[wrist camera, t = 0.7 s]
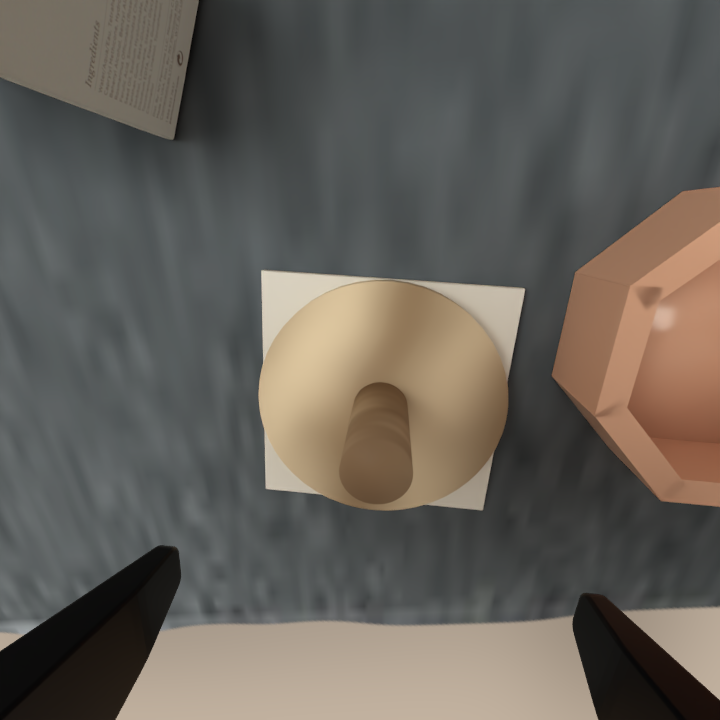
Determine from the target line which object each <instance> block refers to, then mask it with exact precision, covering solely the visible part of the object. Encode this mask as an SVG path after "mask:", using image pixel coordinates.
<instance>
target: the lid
mask: <svg viewBox="0 0 720 720" xmlns="http://www.w3.org/2000/svg"><path fill="white" fill-rule="evenodd" d="M259 406H260V414H261V418H262V422H263V426H264V429H265V431H266V434H267V436H268V439H269V441H270V443H271V445H272V446H273V448H274V450H275V452H276V453H277V455H278V456H279V457H280V459H281V460H282V462H283V463H284V464H285V465H286V466H287V467H288V469H289V470H290V471H291V472H292V473H293V474H294V475H295V476H296V477H298V478H299V479H300V480H301V481H302V482H303V483H305V484H306V485H308V486H309V487H311V488H312V489H313V490H315V491H316V492H318V493H320V494H322V495H324V496H326V497H328V498H330V499H332V500H335V501H338V502H340V503H343V504H346V505H350V506H354V507H357V508H364V509H370V510H386V511H387V510H402V509H408V508H414V507H418V506H422V505H425V504H428V503H431V502H434V501H436V500H439V499H441V498H443V497H445V496H447V495H449V494H451V493H452V492H454V491H456V490H458V489H459V488H460V487H462V486H463V485H464V484H466V483H467V482H468V481H470V480H471V479H472V478H473V477H474V476H475V475H476V474H477V473H478V472H479V471H480V470H481V469H482V467H483V466H484V465H485V464H486V462H487V461H488V460H489V458H490V457H491V455H492V454H493V452H494V450H495V449H496V447H497V445H498V442H499V440H500V438H501V436H502V433H503V430H504V426H505V422H506V419H507V411H508V385H507V379H506V374H505V370H504V367H503V364H502V361H501V358H500V356H499V354H498V352H497V350H496V348H495V346H494V344H493V342H492V341H491V339H490V338H489V336H488V335H487V334H486V332H485V331H484V329H483V328H482V327H481V326H480V325H479V324H478V323H477V322H476V320H475V319H474V318H473V317H472V316H471V315H470V314H469V313H468V312H467V311H466V310H464V309H463V308H462V307H461V306H459V305H458V304H457V303H456V302H454V301H452V300H451V299H449V298H447V297H446V296H444V295H442V294H441V293H438V292H436V291H434V290H431V289H429V288H427V287H424V286H420V285H417V284H413V283H409V282H403V281H396V280H368V281H360V282H355V283H351V284H347V285H343V286H340V287H338V288H335V289H333V290H330V291H328V292H326V293H324V294H322V295H320V296H319V297H317V298H315V299H314V300H312V301H310V302H309V303H308V304H307V305H305V306H304V307H303V308H302V309H300V310H299V311H298V312H297V313H296V314H295V315H294V316H293V317H292V318H291V319H290V320H289V321H288V322H287V323H286V324H285V325H284V326H283V327H282V329H281V330H280V332H279V333H278V334H277V336H276V337H275V339H274V340H273V342H272V344H271V346H270V348H269V350H268V352H267V354H266V357H265V360H264V363H263V366H262V370H261V376H260V381H259Z"/></svg>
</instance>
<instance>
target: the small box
mask: <svg viewBox="0 0 720 720" xmlns="http://www.w3.org/2000/svg"><path fill="white" fill-rule="evenodd" d="M198 3H199V0H0V77H1V78H3V79H6V80H8V81H11V82H14V83H16V84H19V85H22V86H24V87H27V88H30V89H32V90H35V91H38V92H40V93H43V94H46V95H48V96H51V97H53V98H56V99H59V100H61V101H64V102H67V103H70V104H72V105H75V106H78V107H80V108H83V109H86V110H88V111H91V112H94V113H97V114H99V115H102V116H105V117H107V118H110V119H113V120H116V121H118V122H121V123H124V124H127V125H129V126H132V127H135V128H137V129H140V130H143V131H146V132H149V133H151V134H154V135H157V136H160V137H163V138H166V139H169V140H173V139H174V136H175V130H176V125H177V119H178V114H179V108H180V103H181V97H182V92H183V86H184V81H185V75H186V69H187V63H188V58H189V52H190V46H191V41H192V35H193V30H194V25H195V19H196V14H197V9H198Z"/></svg>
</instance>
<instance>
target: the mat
mask: <svg viewBox="0 0 720 720" xmlns="http://www.w3.org/2000/svg"><path fill="white" fill-rule="evenodd" d="M261 272H262V322H263V363H264V360H265V357H266V354H267V352H268V350H269V348H270V346H271V344H272V342H273V340H274V339H275V337H276V336H277V334H278V333H279V332H280V330H281V329H282V327H283V326H284V325H285V324H286V323H287V322H288V321H289V320H290V319H291V318H292V317H293V316H294V315H295V314H296V313H297V312H298V311H299V310H300V309H302V308H303V307H304V306H305V305H307V304H308V303H309V302H310V301H312V300H314V299H315V298H317V297H319V296H320V295H322V294H324V293H326V292H328V291H330V290H333V289H335V288H338V287H340V286H343V285H347V284H351V283H355V282H360V281H368V280H396V281H403V282H409V283H413V284H417V285H420V286H424V287H427V288H429V289H431V290H434V291H436V292H438V293H441V294H442V295H444V296H446V297H447V298H449V299H451V300H452V301H454V302H456V303H457V304H458V305H459V306H461V307H462V308H463V309H464V310H466V311H467V312H468V313H469V314H470V315H471V316H472V317H473V318H474V319H475V320H476V322H477V323H478V324H479V325H480V326H481V327H482V328H483V329H484V331H485V332H486V334H487V335H488V336H489V338H490V339H491V341H492V342H493V344H494V346H495V348H496V350H497V352H498V354H499V356H500V358H501V361H502V364H503V367H504V370H505V374H506V379H507V381H508V376H509V371H510V366H511V360H512V355H513V350H514V345H515V340H516V334H517V329H518V324H519V319H520V313H521V308H522V303H523V298H524V293H525V289H524V288H519V287H504V286H490V285H476V284H461V283H447V282H433V281H418V280H404V279H389V278H375V277H361V276H346V275H332V274H318V273H303V272H289V271H275V270H262V271H261ZM493 454H494V452H493ZM493 454H492V455H491V457H490V458H489V460H488V461H487V462H486V464H485V465H484V466H483V467H482V469H481V470H480V471H479V472H478V473H477V474H476V475H475V476H474V477H473V478H472V479H471V480H470V481H468V482H467V483H466V484H464V485H463V486H462V487H460V488H459V489H458V490H456V491H454V492H452V493H451V494H449V495H447V496H445V497H443V498H441V499H439V500H436V501H434V502H431V503H428V504H425V505H434V506H444V507H454V508H464V509H474V510H483V506H484V501H485V496H486V491H487V485H488V480H489V475H490V470H491V465H492V459H493ZM265 474H266V489H273V490H283V491H293V492H303V493H313V494H320V493H318V492H316V491H315V490H313V489H312V488H311V487H309V486H308V485H306V484H305V483H303V482H302V481H301V480H300V479H299V478H298V477H296V476H295V475H294V474H293V473H292V472H291V471H290V470H289V469H288V467H287V466H286V465H285V464H284V463H283V462H282V460H281V459H280V457H279V456H278V455H277V453H276V452H275V450H274V448H273V446H272V445H271V443H270V441H269V439H268V436H267V434H266V431H265Z"/></svg>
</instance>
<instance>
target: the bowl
mask: <svg viewBox="0 0 720 720" xmlns="http://www.w3.org/2000/svg"><path fill="white" fill-rule="evenodd" d="M551 376H552V377H553V378H554V379H555V381H556V382H557V383H558V384H559V386H560V387H561V388H562V389H563V391H564V392H565V393H566V394H567V396H568V397H569V398H570V400H571V401H572V402H573V403H574V405H575V406H576V407H577V408H578V410H579V411H580V412H581V413H582V415H583V416H584V417H585V418H586V420H587V421H588V422H589V423H590V425H591V426H592V427H593V428H594V430H595V431H596V432H597V433H598V435H599V436H600V437H601V438H602V440H603V441H604V442H605V444H606V445H607V446H608V447H609V448H610V449H611V450H612V451H613V452H614V454H615V455H616V456H617V457H618V458H619V459H620V460H621V461H622V462H623V463H624V464H625V465H626V466H627V467H628V468H629V469H630V470H631V471H632V472H633V473H634V474H635V475H636V476H637V477H638V478H639V479H640V480H641V481H642V482H643V483H644V484H645V485H646V486H647V487H648V488H649V489H650V490H651V491H652V492H653V493H654V494H655V495H656V496H657V497H658V498H659V500H660V501H665V502H676V503H686V504H697V505H707V506H717V507H720V187H715V188H707V189H699V190H690V191H682V192H681V193H680V194H678V195H677V196H676V197H674V198H673V199H672V200H670V201H669V202H668V203H666V204H665V205H664V206H662V207H661V208H660V209H659V210H657V211H656V212H655V213H653V214H652V215H651V216H649V217H648V218H647V219H645V220H644V221H643V222H641V223H640V224H639V225H637V226H636V227H635V228H633V229H632V230H631V231H629V232H628V233H627V234H625V235H624V236H623V237H621V238H620V239H619V240H617V241H616V242H615V243H613V244H612V245H611V246H609V247H608V248H607V249H605V250H604V251H603V252H601V253H600V254H599V255H597V256H596V257H595V258H593V259H592V260H591V261H589V262H588V263H587V264H586V265H584V266H583V267H582V268H580V269H579V270H578V271H576V272H575V276H574V280H573V285H572V289H571V293H570V298H569V302H568V306H567V311H566V315H565V320H564V324H563V328H562V333H561V337H560V341H559V346H558V350H557V354H556V359H555V363H554V368H553V372H552V375H551Z"/></svg>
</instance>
